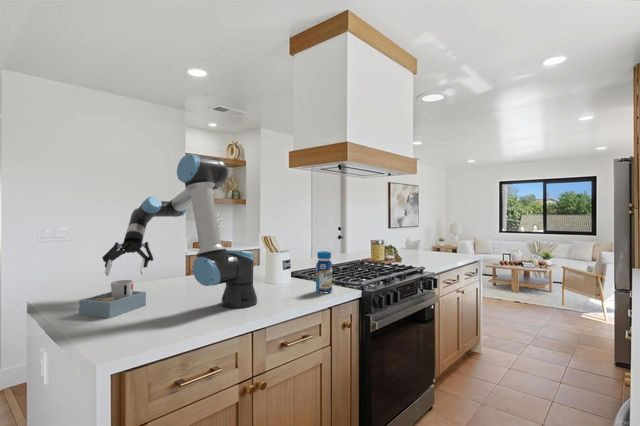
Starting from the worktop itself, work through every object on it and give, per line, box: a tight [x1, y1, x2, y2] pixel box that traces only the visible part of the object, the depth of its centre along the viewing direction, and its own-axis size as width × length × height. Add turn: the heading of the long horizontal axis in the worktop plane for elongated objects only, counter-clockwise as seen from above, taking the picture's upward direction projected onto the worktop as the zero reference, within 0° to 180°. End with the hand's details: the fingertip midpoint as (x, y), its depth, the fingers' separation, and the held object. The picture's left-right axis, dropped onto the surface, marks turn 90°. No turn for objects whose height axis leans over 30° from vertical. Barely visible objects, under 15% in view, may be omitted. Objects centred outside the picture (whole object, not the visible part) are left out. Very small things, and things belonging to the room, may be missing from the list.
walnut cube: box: [94, 297, 115, 302], centre depth 141 cm, size 5×5×5 cm
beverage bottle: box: [315, 250, 334, 294], centre depth 181 cm, size 8×8×20 cm
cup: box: [110, 279, 134, 300], centre depth 149 cm, size 8×8×10 cm
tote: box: [78, 290, 147, 319], centre depth 146 cm, size 14×19×6 cm
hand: (124, 273), depth 154 cm, fingers open, 13 cm apart
